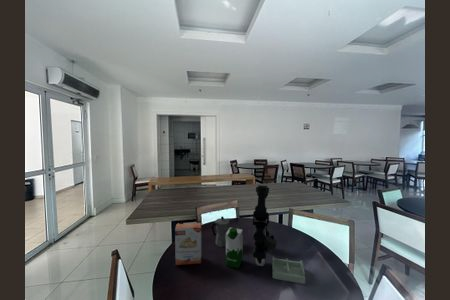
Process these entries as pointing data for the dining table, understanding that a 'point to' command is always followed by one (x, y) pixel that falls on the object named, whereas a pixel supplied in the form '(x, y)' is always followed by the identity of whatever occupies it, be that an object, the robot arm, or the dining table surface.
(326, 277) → the dining table surface
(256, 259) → the jar
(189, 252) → the cracker box
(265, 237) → the robot arm
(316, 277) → the dining table surface
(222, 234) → the coffeepot
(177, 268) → the dining table surface
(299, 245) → the dining table surface
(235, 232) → the milk carton
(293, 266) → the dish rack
